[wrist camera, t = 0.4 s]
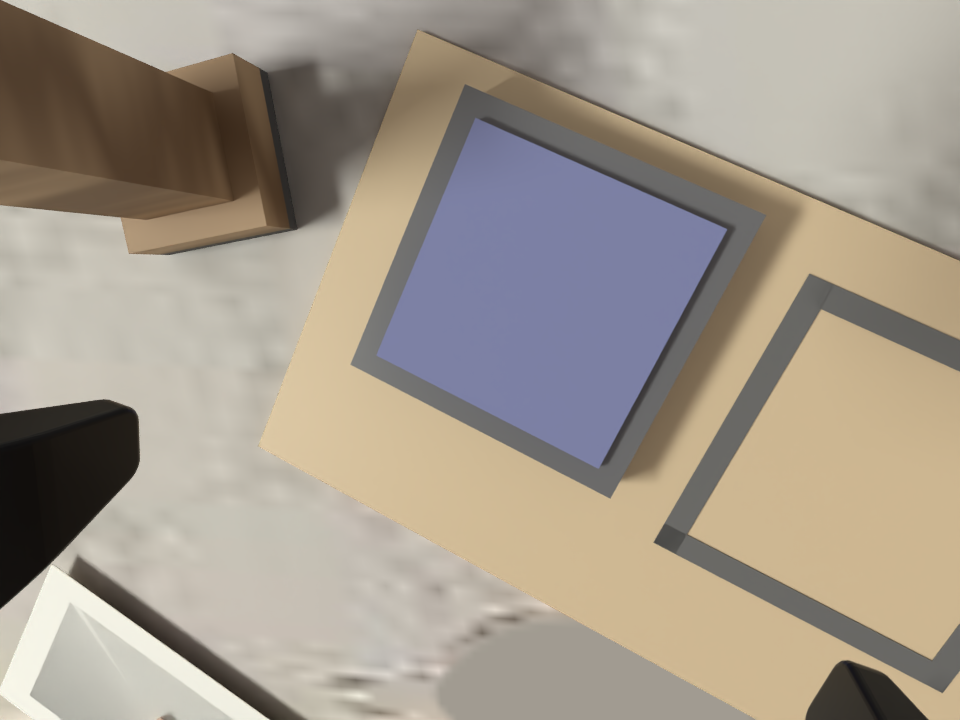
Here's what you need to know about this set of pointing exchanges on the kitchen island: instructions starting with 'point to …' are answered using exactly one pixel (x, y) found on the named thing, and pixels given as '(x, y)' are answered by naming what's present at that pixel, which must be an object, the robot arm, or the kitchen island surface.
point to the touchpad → (105, 666)
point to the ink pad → (550, 288)
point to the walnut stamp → (138, 140)
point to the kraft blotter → (683, 435)
